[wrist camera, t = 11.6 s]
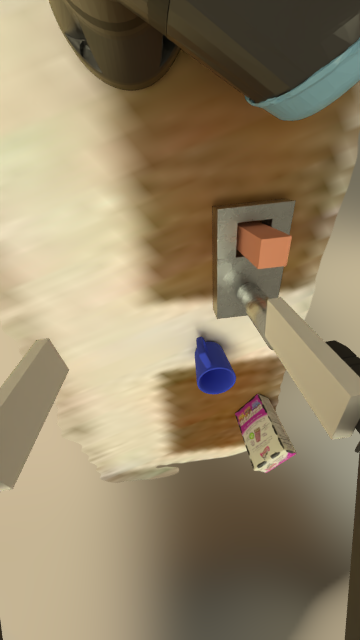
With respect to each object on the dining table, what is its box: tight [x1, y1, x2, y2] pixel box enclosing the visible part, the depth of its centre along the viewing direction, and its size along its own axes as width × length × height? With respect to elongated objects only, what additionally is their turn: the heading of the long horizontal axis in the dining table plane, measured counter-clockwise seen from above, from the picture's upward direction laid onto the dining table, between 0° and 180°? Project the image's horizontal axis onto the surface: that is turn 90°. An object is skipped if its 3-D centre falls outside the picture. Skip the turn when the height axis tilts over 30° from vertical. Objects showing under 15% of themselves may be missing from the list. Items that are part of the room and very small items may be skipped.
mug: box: [195, 337, 236, 394], centre depth 49 cm, size 8×12×10 cm
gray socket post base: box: [212, 199, 295, 350], centre depth 34 cm, size 20×12×18 cm, turn 5°
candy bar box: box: [235, 394, 296, 473], centre depth 61 cm, size 11×5×16 cm, turn 149°
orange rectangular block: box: [236, 221, 292, 269], centre depth 34 cm, size 4×4×12 cm
